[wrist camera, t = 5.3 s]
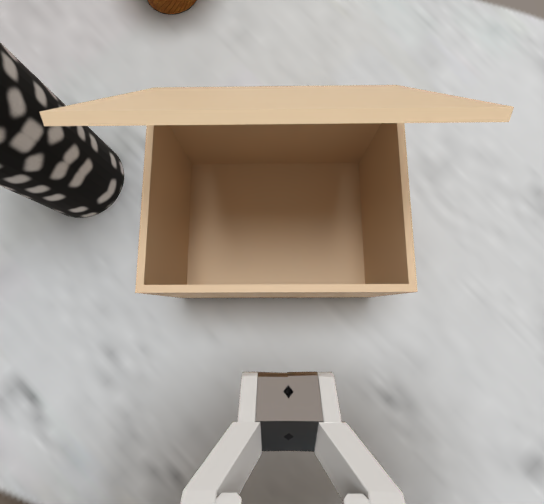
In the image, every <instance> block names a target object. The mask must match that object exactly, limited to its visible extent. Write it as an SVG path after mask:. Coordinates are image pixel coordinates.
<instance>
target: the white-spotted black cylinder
mask: <svg viewBox="0 0 544 504" xmlns="http://www.w3.org/2000/svg"><path fill="white" fill-rule="evenodd" d="M64 106H66V105H65V104H64V103H63V102H62V101H61V100H60V99H58V98H57V97H56V96H55V95H54V94H53V93H52V92H51V91H50V90H49V89H48V88H47V87H46V86H45V85H44V84H43V83H42V82H41V81H40V80H39V79H38V78H37V77H36V76H35V75H34V74H33V73H31V72H30V71H29V70H28V69H27V68H26V67H25V66H24V65H23V64H22V63H21V62H20V61H19V60H18V59H17V58H16V57H15V56H14V55H13V54H12V53H11V52H10V51H9V50H8V49H7V48H6V47H4V46H3V45H2V44H1V43H0V186H2V187H4V188H7V189H9V190H11V191H13V192H16V193H18V194H20V195H22V196H25V197H27V198H29V199H31V200H34V201H36V202H38V203H40V204H43V205H45V206H47V207H49V208H52V209H54V210H56V211H58V212H61V213H63V214H65V215H68V216H72V217H88V216H92V215H95V214H98V213H100V212H102V211H103V210H105V209H106V208H108V207H109V206H110V205H111V204H112V203H113V202H114V201H115V199H116V198H117V197H118V195H119V193H120V191H121V188H122V185H123V180H124V172H123V167H122V163H121V161H120V159H119V158H118V156H117V155H116V154H115V153H114V152H113V151H112V150H111V149H110V148H109V147H108V146H107V145H106V144H105V143H104V142H103V141H102V140H101V139H100V138H99V137H98V136H97V135H96V134H95V133H94V132H93V131H92V130H91V129H90V128H89V127H88V126H44V124H43V121H42V118H41V115H40V111H45V110H50V109H54V108H59V107H64Z"/></svg>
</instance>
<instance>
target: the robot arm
mask: <svg viewBox="0 0 544 504" xmlns="http://www.w3.org/2000/svg"><path fill="white" fill-rule="evenodd" d="M262 451H312V452H314V453H315V455H316V457H317V458H318V460H319V462H320V463H321V465H322V467H323V468H324V470H325V472H326V474H327V475H328V477H329V479H330V480H331V482H332V484H333V485H334V487H335V489H336V490H337V492H338V494H339V495H340V497H341V499H342V501H343V504H405V500H404V496H403V493H402V492H401V490H400V489H399V488H398V487H397V485H396V484H395V483H394V481H393V480H392V479H391V478H390V476H389V475H388V474H387V473H386V471H385V470H384V469H383V468H382V466H381V465H380V464H379V463H378V461H377V460H376V459H375V458H374V456H373V455H372V454H371V453H370V451H369V450H368V449H367V447H366V446H365V445H364V444H363V442H362V441H361V440H360V439H359V437H358V436H357V435H356V434H355V432H354V431H353V430H352V429H351V427H350V426H349V425H348V424H347V422H342V420H341V414H340V408H339V402H338V396H337V390H336V384H335V378H334V375H333V373H332V372H287V373H282V372H243V374H242V378H241V388H240V398H239V409H238V419H237V422H232V423H231V425H230V426H229V428H228V429H227V430H226V432H225V433H224V434H223V436H222V437H221V439H220V440H219V441H218V443H217V444H216V446H215V447H214V448H213V450H212V451H211V452H210V454H209V455H208V457H207V458H206V459H205V461H204V462H203V464H202V465H201V466H200V468H199V469H198V470H197V472H196V473H195V475H194V476H193V477H192V479H191V480H190V482H189V483H188V484H187V486H186V487H185V488H184V490H183V493H182V498H181V503H180V504H242V498H241V497H240V496H239V494H240V492H241V491H242V489H243V487H244V485H245V483H246V481H247V480H248V478H249V476H250V474H251V472H252V470H253V469H254V467H255V465H256V463H257V461H258V459H259V458H260V456H261V454H262Z"/></svg>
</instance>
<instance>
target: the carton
mask: <svg viewBox="0 0 544 504" xmlns="http://www.w3.org/2000/svg"><path fill="white" fill-rule="evenodd" d="M411 292H417V280H416V267H415V255H414V242H413V229H412V216H411V204H410V191H409V178H408V165H407V152H406V140H405V127H404V123H342V124H235V125H147V129H146V144H145V158H144V173H143V188H142V202H141V217H140V232H139V246H138V261H137V276H136V290H135V293H143V294H152V295H161V296H170V297H179V298H321V297H376V296H385V295H394V294H402V293H411Z"/></svg>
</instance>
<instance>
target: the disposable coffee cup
mask: <svg viewBox="0 0 544 504" xmlns="http://www.w3.org/2000/svg"><path fill="white" fill-rule="evenodd" d="M147 1H148V3H149V4H150V5H151V6H152V7H153V8H154V9H155V10H157V11H159V12H162V13H166V14H176V13H180V12H183V11H185V10H187V9H189V8H190V7H191V6H192V5H193V4H194V3H195V2H196V0H147Z"/></svg>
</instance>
